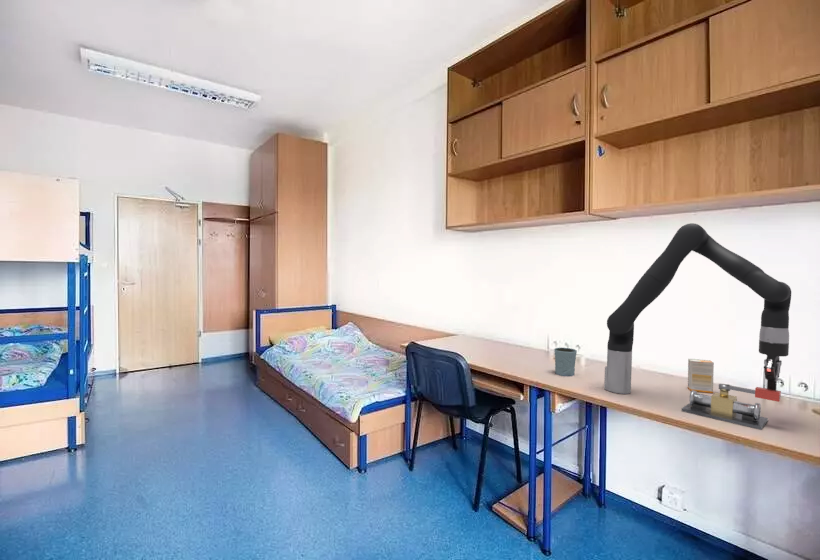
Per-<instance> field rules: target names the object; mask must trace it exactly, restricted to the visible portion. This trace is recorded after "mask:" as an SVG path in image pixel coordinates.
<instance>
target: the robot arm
mask: <svg viewBox="0 0 820 560" xmlns="http://www.w3.org/2000/svg"><path fill="white" fill-rule="evenodd" d="M691 252H693V253H696V254H699V255H700V256H703V257H704V258H706V259H708V260H710V261H711V262H713V263H714V264H716V265H717V266H718V267H719V268H721V270H723V271H724V272H726V273H727V274H728V275H730V276H731V277H732V278H734V279H736V280H737V281H739V282H740V283H742V284H743V285H745V286H747V287H748V288H749V289H751V291H753V292H754V293H755V294H757V295H758V296H759V297H761V298H762V299H763V309H762V312H761V316H760V329H759V336H758V337H759V339H758V353H759V354H762V355H766V358H765V359H764V361H763V364H764V365H763V371H764V377H765V380H766V381H767V382H766V383H767V384H766V389H772V390H777V388H778V387H777V382H778V380H779V377H780V373H781V366H782V364H783V363H782V359H781V360H780V357H787V356H789V349H790V330H789V326H790V325H789V323H790V315H789V314H790V313H789V311H790V308H791V299H792V289H791V287H790V286H789V285H788V283H785V282H783V281H779V280H777V279H775V278H774V277H772V276H771V275H769V274H767V273H766V272H765V271H764V270H763V269H761V267H759V266H757V265H755V264H754V263H753V262H751V261H749V260H748V259H746V258H744V257H743V256H741V255H739V254H738V253H735V252H733V251H732V250H730V249H728V248H726V247H724V246H723V245H721V244H720V243H719V242H717V241H716V240H715V239H714V238H713V237H712V236H710V234H708V232H707V231H706V230H705V229H704V228H703V227H702V226H701V225H700V224H698V223H686V224H684V225H682V226H681V227H680V228H679V229H677V231H676V233H675V234H674V235H673V236H672V239H671V240H670V242H669V243H668V245H667V246H666V248H665V249H664V251H663V252H662V253H661V254H660V255H659V256H658V257H657V258H656V259H655V260H654V262H653V263H652V264H651V266H649V267H648V268H647V270H646V271H645V272H644V274H643V275H642V276H641V277H640V278H639V280H638V281H637V283H636V284H635V285H634V286H633V287H632V289H631V291H630V292H629V294H628V296H627V297H626V298H625V299H624V301H623V302H622V303H621V304H620V305H619V306H618V308H616V309H615V310H614V311H613V312H612V313H611V314H610V315H609V316H608V318H607V320H606V326H607V327H606V328H607V329H608V331H609V333H608V334H609V335H608V340H607V347H606V348H607V349H606V350H607V352H606V353H607V355H606V366H605V367H604V384H603V385H604V386H603V387H604V388H603V389H604V390H606V391H609V392H610V393H614V394H622V395H623V394H624V395H625V394H626V395H627V394H630V393H631V392H632V371H633V370H632V369H633V368H632V367H633V366H632V365H633V345H634V333H635V321H636V320H637V319H638V318H639V315H641V313H642V312H643V311H644V310H645V309H646V308H647V307H648V306H649V305H651V304H652V303H653V302H654V301H655V300H656V299H657V298H658V297H659V296H660V295H661V294H662V293H663V292H664V291H665V289H666V288H667V287H669V285H670V284H671V282H672V281H673V279H674V277H675V275H676V273H677V271H678V270H679V269H678V268H679V267H680V265H681V263H682V262H683V261H684V260H685V259H686V257H687V256H688V255H689V254H690V253H691Z"/></svg>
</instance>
